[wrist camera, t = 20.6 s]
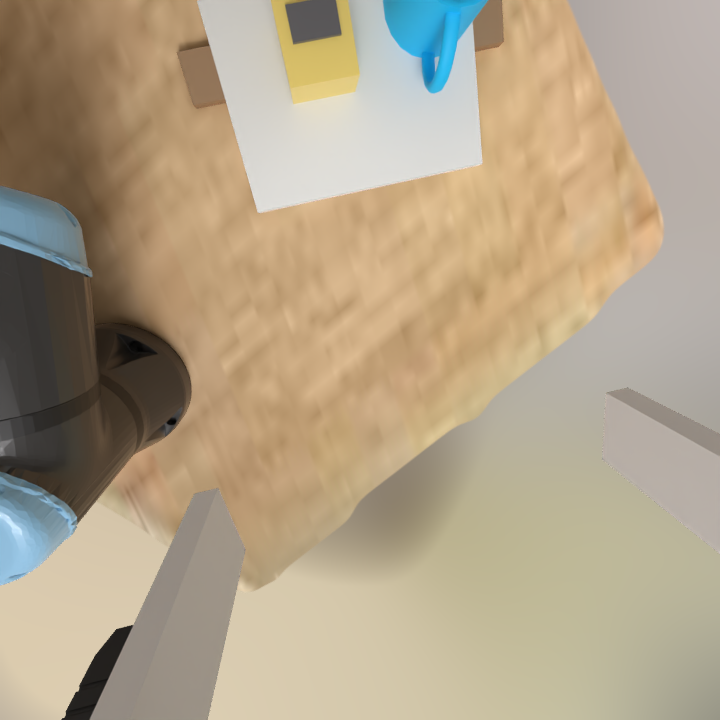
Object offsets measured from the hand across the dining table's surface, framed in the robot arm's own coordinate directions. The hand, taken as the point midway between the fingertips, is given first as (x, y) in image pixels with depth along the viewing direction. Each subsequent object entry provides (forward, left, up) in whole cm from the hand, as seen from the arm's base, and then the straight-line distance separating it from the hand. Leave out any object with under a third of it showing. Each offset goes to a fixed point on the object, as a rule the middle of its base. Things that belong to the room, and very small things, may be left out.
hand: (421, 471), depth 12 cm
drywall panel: (+5, +20, -32) cm, 38 cm away
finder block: (+2, +22, -30) cm, 38 cm away
